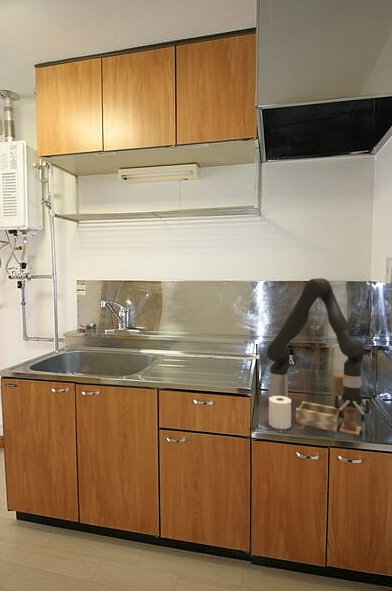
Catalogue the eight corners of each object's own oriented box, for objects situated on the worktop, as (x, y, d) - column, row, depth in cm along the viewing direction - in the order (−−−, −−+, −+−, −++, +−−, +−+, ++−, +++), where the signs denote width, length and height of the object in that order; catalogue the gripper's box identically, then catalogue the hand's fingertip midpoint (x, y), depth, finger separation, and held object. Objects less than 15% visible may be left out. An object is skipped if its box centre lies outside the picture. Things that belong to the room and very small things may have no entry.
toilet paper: (266, 419, 168) (267, 395, 167) (288, 420, 167) (288, 395, 166) (270, 429, 157) (270, 403, 157) (293, 429, 157) (293, 403, 156)
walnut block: (344, 429, 155) (344, 411, 155) (345, 425, 160) (346, 408, 159) (355, 431, 153) (355, 414, 152) (356, 427, 157) (356, 410, 157)
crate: (295, 423, 163) (295, 409, 163) (302, 414, 174) (302, 401, 173) (336, 432, 154) (336, 417, 153) (340, 422, 164) (341, 408, 164)
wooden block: (356, 417, 170) (357, 377, 168) (334, 415, 172) (335, 376, 170) (351, 409, 179) (352, 371, 178) (330, 408, 181) (331, 370, 180)
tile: (339, 430, 155) (339, 429, 155) (342, 424, 162) (342, 423, 162) (358, 435, 151) (359, 433, 151) (361, 428, 158) (361, 426, 158)
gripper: (333, 384, 155) (333, 419, 156) (368, 389, 148) (368, 426, 149) (336, 380, 162) (336, 414, 163) (370, 384, 154) (370, 420, 155)
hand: (351, 419), depth 156 cm, fingers open, 8 cm apart
